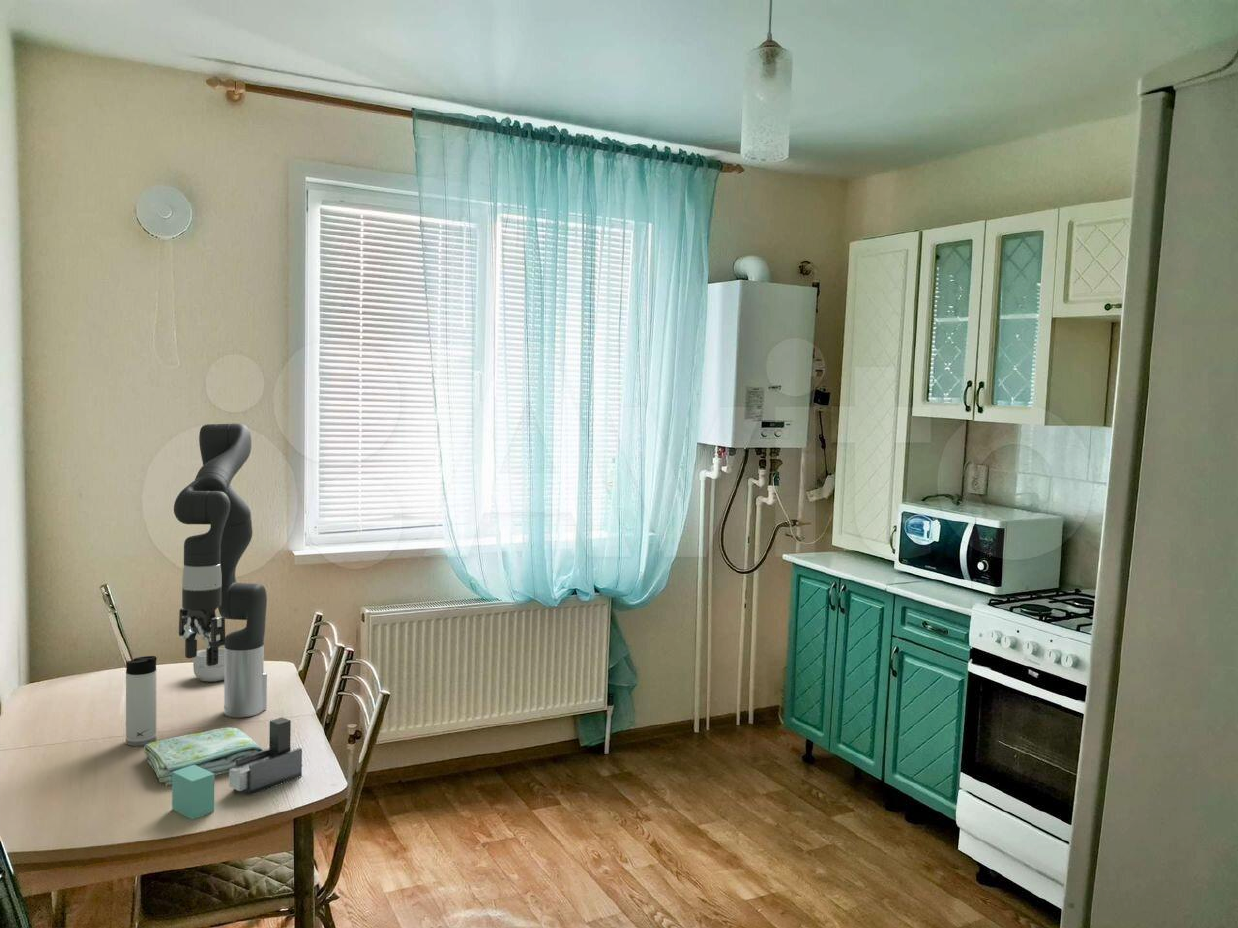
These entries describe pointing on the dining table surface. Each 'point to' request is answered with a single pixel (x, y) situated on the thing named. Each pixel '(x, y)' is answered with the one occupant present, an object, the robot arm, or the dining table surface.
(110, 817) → the dining table surface
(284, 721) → the inner bar
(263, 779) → the sleeve
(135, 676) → the travel mug
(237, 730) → the towel
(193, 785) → the socket block
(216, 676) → the teacup
